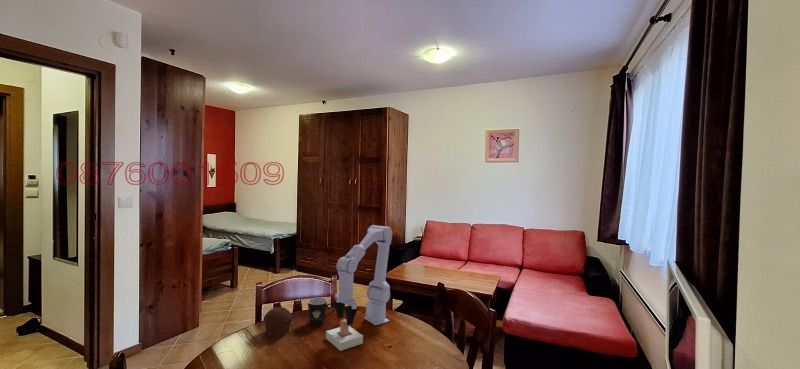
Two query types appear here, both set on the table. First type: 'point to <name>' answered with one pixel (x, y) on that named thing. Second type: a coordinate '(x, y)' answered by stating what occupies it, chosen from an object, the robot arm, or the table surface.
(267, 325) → the muffin
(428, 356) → the table surface
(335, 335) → the socket block
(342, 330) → the dowel
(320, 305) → the coffee mug
